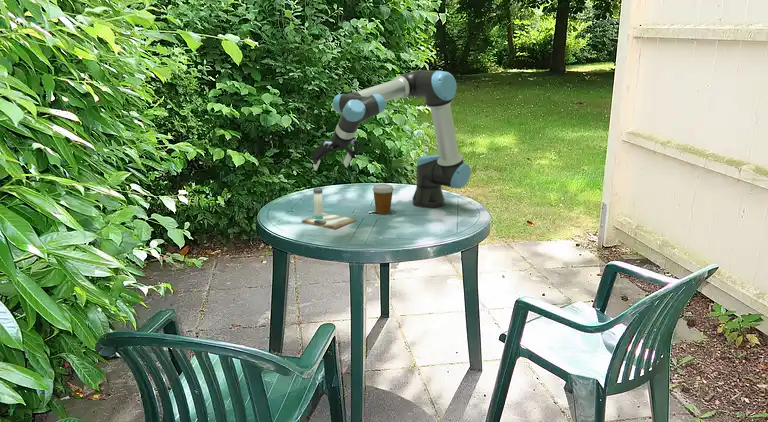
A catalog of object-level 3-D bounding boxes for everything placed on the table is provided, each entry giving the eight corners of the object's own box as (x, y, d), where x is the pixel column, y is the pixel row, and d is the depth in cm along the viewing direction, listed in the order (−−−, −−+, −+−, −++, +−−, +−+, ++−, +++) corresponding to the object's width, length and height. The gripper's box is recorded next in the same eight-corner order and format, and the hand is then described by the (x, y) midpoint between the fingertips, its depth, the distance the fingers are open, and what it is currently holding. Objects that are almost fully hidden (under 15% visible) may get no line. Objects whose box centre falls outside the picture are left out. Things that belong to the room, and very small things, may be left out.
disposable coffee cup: (391, 215, 275) (391, 189, 272) (370, 214, 277) (370, 188, 274) (395, 210, 284) (395, 184, 281) (375, 208, 286) (374, 183, 283)
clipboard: (356, 220, 268) (356, 216, 267) (335, 229, 256) (335, 225, 255) (324, 214, 277) (323, 210, 277) (302, 222, 265) (301, 218, 265)
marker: (325, 217, 269) (324, 188, 265) (319, 219, 265) (318, 190, 262) (318, 216, 271) (317, 187, 267) (312, 218, 267) (311, 189, 264)
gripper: (317, 143, 230) (304, 176, 247) (376, 138, 242) (360, 170, 258) (311, 127, 234) (298, 161, 250) (370, 123, 245) (354, 156, 262)
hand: (330, 166), depth 254 cm, fingers open, 13 cm apart
